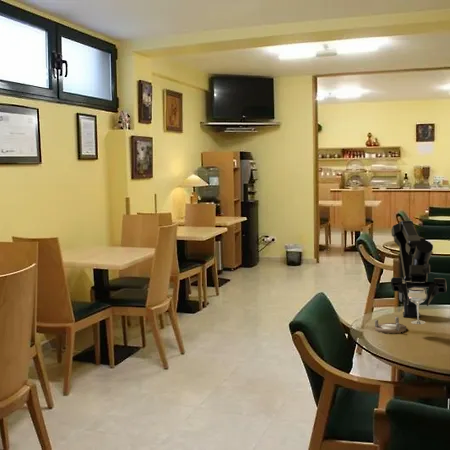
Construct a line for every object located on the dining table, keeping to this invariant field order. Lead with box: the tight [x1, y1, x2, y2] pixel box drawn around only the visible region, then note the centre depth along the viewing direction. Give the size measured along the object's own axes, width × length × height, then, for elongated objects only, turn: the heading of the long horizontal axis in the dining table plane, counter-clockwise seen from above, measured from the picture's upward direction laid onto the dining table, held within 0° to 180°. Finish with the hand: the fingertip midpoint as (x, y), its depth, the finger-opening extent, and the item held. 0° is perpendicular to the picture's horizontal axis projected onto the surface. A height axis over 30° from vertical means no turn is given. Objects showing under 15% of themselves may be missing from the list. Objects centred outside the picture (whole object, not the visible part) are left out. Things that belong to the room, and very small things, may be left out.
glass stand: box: [374, 316, 407, 335], centre depth 211 cm, size 11×11×4 cm
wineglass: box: [407, 287, 428, 325], centre depth 200 cm, size 7×7×12 cm
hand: (417, 304), depth 199 cm, fingers closed on wineglass, 6 cm apart
